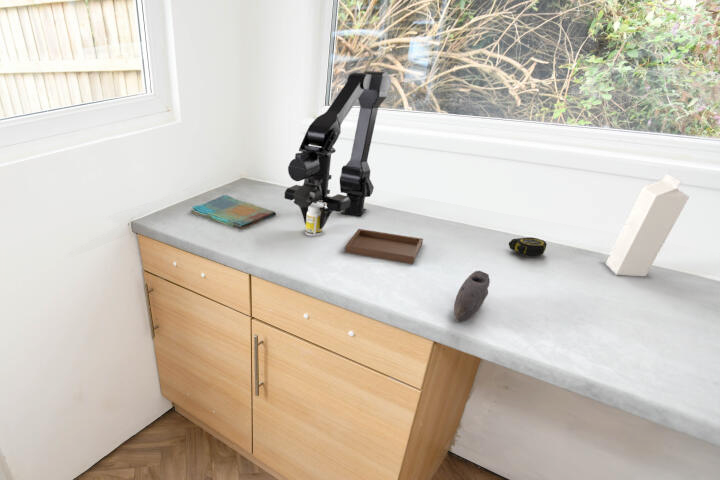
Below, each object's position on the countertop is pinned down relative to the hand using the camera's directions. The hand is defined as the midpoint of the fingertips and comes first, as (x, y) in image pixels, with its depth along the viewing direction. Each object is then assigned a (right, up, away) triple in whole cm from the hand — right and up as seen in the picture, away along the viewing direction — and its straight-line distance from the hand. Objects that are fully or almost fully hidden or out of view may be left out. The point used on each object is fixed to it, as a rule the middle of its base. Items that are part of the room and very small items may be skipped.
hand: (313, 226), depth 138 cm
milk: (+69, -17, -25) cm, 76 cm away
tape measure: (+51, -11, -16) cm, 55 cm away
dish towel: (-23, +8, +16) cm, 29 cm away
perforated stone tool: (+24, -28, -37) cm, 52 cm away
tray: (+17, -9, -10) cm, 21 cm away
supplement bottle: (0, -2, +1) cm, 2 cm away
